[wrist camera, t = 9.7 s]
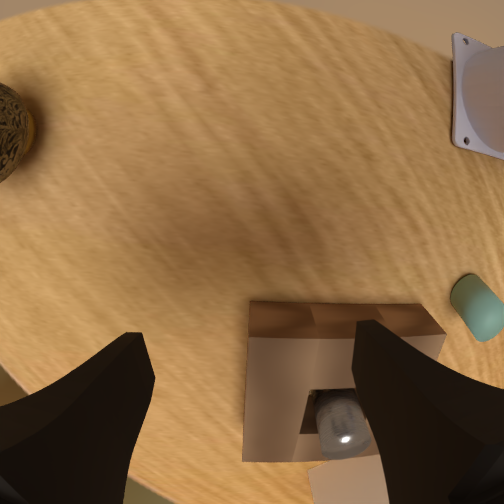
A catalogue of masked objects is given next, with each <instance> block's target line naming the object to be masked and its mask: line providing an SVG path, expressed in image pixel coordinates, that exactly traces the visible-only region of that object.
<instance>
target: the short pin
mask: <svg viewBox="0 0 504 504" xmlns="http://www.w3.org/2000/svg"><path fill="white" fill-rule="evenodd" d="M451 304H452V305H453V307H454V308H455V310H456V311H457V312H458V314H459V315H460V317H461V318H462V319H463V321H464V322H465V324H466V325H467V327H468V328H469V329H470V331H471V332H472V334H473V335H474V337H475V338H476V340H478V341H480V342H484V341H488V340H490V339H492V338H493V337H495V336H496V335H497V334H498V333H499V332H500V331H501V330H502V329H503V327H504V304H503V303H502V301H501V300H500V299H499V298H498V297H497V296H496V295H495V294H494V293H493V291H492V290H491V289H490V288H489V287H488V286H487V285H486V284H485V283H484V282H483V281H482V280H481V279H480V277H478V276H477V275H468V276H465V277H464V278H462V279H461V280H460V281H459V282H458V283H457V284H456V285H455V287H454V288H453V290H452V293H451Z"/></svg>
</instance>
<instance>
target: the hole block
mask: <svg viewBox="0 0 504 504" xmlns="http://www.w3.org/2000/svg"><path fill="white" fill-rule="evenodd" d="M371 319H374V320H376V321H377V322H379V323H380V324H382V325H383V326H385V327H386V328H388V329H389V330H390V331H392V332H393V333H394V334H396V335H397V336H399V337H400V338H401V339H403V340H404V341H406V342H407V343H409V344H410V345H411V346H413V347H414V348H416V349H417V350H419V351H421V352H422V353H424V354H425V355H427V356H428V357H430V358H432V359H434V360H435V361H437V358H438V356H439V353H440V351H441V348H442V346H443V343H444V341H445V338H446V335H447V334H446V332H445V331H444V330H443V329H442V328H441V327H440V325H439V324H438V323H437V322H436V321H435V319H434V318H433V317H432V316H431V315H430V314H429V313H428V311H427V310H426V309H425V308H424V307H423V306H422V305H421V304H319V303H285V302H260V301H250V311H249V330H248V350H247V369H246V388H245V407H244V427H243V452H242V462H308V461H325V460H332V459H328V458H326V457H324V456H323V455H322V451H321V446H320V440H319V435H318V429H317V424H316V418H315V413H314V407H313V402H312V397H311V395H309V390H310V389H341V388H354V389H355V392H356V394H357V391H356V387H355V383H354V378H353V374H352V370H351V366H352V358H353V350H354V342H355V333H356V323H357V321H363V320H371ZM357 397H358V394H357ZM358 400H359V403H360V406H361V409H362V412H363V415H364V418H365V421H366V424H367V427H368V430H369V433H370V436H371V443H370V445H369V447H368V448H367V449H366V450H365V451H363V452H362V453H360V454H358V455H356V456H354V457H351V458H357V457H365V456H372V455H379V450H378V447H377V444H376V441H375V438H374V436H373V433H372V430H371V428H370V425H369V423H368V420H367V417H366V415H365V412H364V410H363V407H362V404H361V402H360V399H359V397H358Z"/></svg>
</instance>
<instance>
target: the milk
mask: <svg viewBox="0 0 504 504" xmlns="http://www.w3.org/2000/svg"><path fill="white" fill-rule="evenodd" d="M307 471H308V476H309V481H310V486H311V491H312V496H313V501H314V504H389V498H388V492H387V487H386V481H385V476H384V471H383V467H382V462H381V458H380V454H379V455H372V456H365V457H357V458H348V459H343V460H330V461H328V462H326V463H323V464H321V465H318V466H316V467H314V468H311V469H309V470H307Z"/></svg>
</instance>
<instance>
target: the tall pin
mask: <svg viewBox="0 0 504 504" xmlns="http://www.w3.org/2000/svg"><path fill="white" fill-rule="evenodd" d="M310 391H311V397H312V402H313V407H314V413H315V418H316V424H317V429H318V435H319V440H320V446H321V451H322V455H323V456H324V457H326V458H328V459H332V460H343V459H348V458H351V457H354V456H356V455H358V454H360V453H362V452H363V451H365V450H366V449H367V448H368V447H369V445H370V443H371V436H370V433H369V430H368V427H367V424H366V421H365V418H364V415H363V412H362V409H361V406H360V403H359V400H358V397H357V394H356V392H355V389H354V388H341V389H310Z"/></svg>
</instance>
